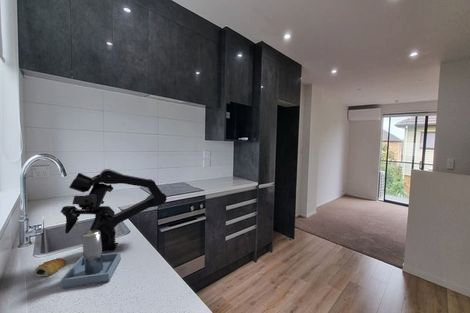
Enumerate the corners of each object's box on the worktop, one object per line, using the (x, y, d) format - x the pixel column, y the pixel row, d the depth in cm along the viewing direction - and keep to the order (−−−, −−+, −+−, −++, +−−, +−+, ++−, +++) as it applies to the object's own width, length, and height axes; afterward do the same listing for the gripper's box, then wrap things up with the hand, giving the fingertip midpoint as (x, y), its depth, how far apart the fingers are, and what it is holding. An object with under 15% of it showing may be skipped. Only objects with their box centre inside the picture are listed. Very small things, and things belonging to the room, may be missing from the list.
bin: (81, 264, 83) (81, 256, 83) (120, 259, 87) (120, 252, 86) (61, 288, 70) (61, 280, 69) (109, 281, 73) (108, 273, 73)
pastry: (55, 262, 85) (54, 253, 85) (71, 262, 85) (70, 253, 84) (31, 277, 76) (30, 267, 75) (49, 278, 75) (48, 268, 75)
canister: (84, 270, 78) (80, 232, 77) (101, 264, 82) (98, 227, 81) (86, 277, 74) (83, 237, 73) (104, 270, 78) (101, 232, 77)
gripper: (62, 186, 84) (38, 224, 74) (108, 186, 83) (90, 225, 73) (79, 199, 93) (59, 235, 83) (121, 200, 92) (106, 236, 82)
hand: (78, 233), depth 80 cm, fingers open, 9 cm apart
